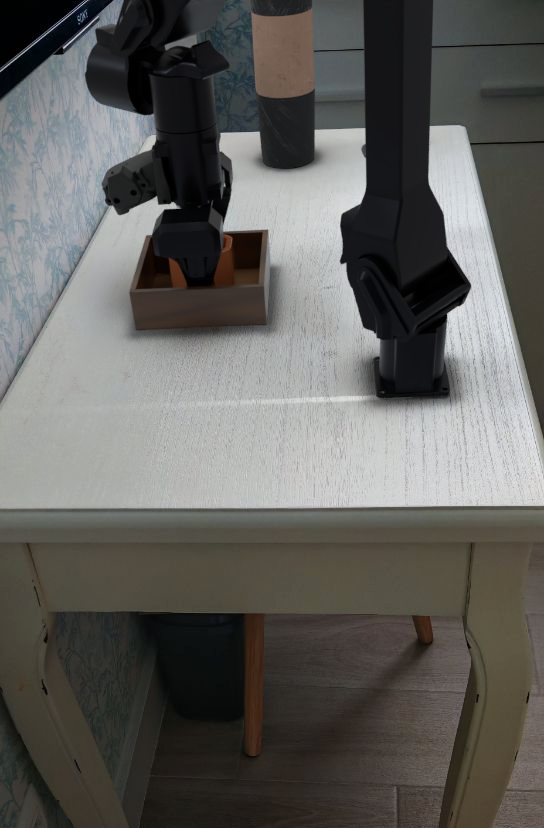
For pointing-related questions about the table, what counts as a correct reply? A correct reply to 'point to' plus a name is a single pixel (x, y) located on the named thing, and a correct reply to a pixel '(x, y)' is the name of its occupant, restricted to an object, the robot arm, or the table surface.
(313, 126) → the travel mug
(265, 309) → the wooden box
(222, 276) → the bucket
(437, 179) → the table surface
